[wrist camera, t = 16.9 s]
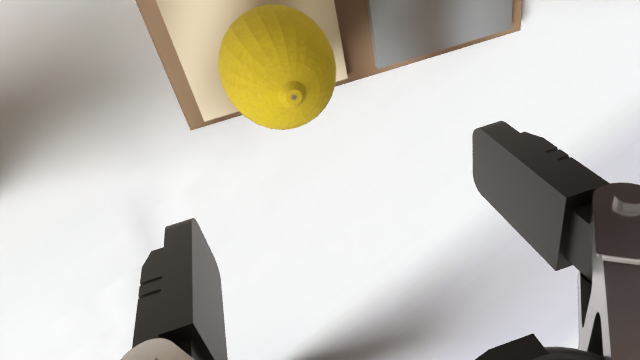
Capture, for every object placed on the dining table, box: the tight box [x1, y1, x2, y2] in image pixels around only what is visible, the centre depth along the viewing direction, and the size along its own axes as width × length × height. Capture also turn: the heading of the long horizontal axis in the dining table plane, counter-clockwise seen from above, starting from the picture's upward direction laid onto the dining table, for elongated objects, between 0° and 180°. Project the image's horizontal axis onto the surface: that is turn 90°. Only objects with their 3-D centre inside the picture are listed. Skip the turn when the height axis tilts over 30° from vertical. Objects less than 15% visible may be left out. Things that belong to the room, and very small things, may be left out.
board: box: [136, 0, 522, 130], centre depth 26 cm, size 22×8×2 cm, turn 102°
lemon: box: [218, 4, 336, 130], centre depth 22 cm, size 6×6×8 cm
